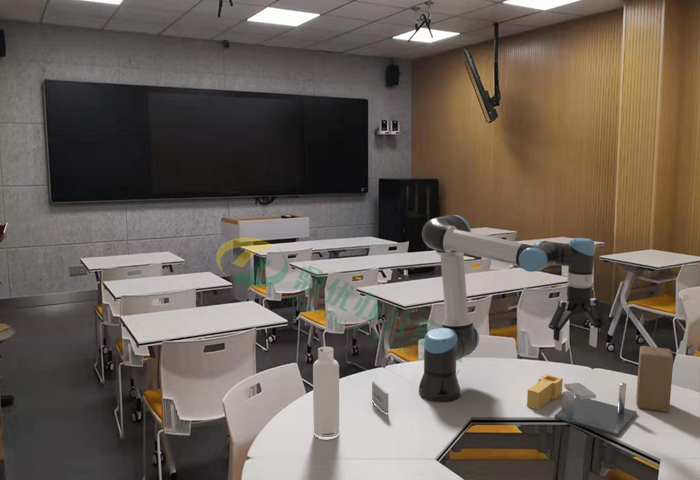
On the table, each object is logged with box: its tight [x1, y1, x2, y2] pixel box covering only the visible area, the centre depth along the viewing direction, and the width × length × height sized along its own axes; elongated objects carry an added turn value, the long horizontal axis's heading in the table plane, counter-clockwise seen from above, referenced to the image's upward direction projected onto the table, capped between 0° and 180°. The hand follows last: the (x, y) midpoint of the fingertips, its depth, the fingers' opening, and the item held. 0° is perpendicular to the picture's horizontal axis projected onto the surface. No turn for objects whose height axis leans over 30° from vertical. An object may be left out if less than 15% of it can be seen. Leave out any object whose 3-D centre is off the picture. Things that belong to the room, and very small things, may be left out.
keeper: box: [561, 382, 597, 418], centre depth 195 cm, size 8×10×10 cm
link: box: [526, 373, 564, 410], centre depth 210 cm, size 18×6×6 cm, turn 139°
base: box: [554, 382, 638, 438], centre depth 196 cm, size 20×21×11 cm
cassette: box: [371, 381, 389, 414], centre depth 203 cm, size 12×2×8 cm, turn 21°
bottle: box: [312, 346, 340, 437], centre depth 183 cm, size 8×8×28 cm
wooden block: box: [635, 345, 674, 413], centre depth 204 cm, size 10×10×20 cm
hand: (575, 347), depth 195 cm, fingers open, 13 cm apart
